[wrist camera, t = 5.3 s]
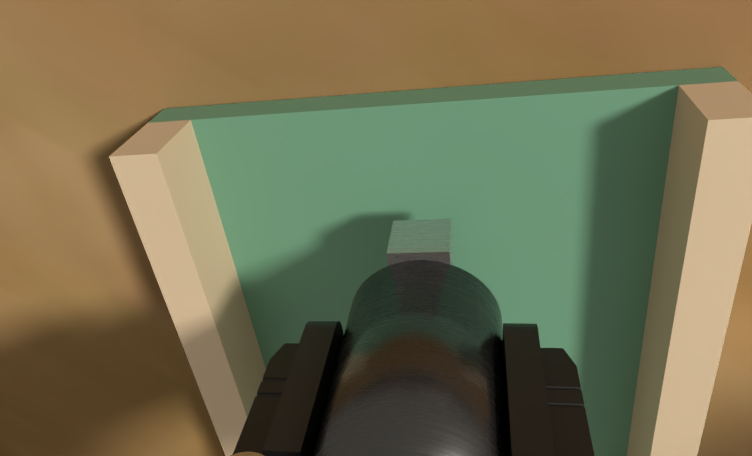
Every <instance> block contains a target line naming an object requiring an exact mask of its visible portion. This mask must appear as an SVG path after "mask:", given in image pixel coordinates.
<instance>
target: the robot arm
mask: <svg viewBox="0 0 752 456" xmlns="http://www.w3.org/2000/svg"><path fill="white" fill-rule="evenodd" d="M343 336H344V334H343V329H342V325H341V322H340V321H308V322H307V323H306V325H305V328H304V331H303V334H302V336H301V339H300V342H299V343H285V344H284V345H283V346H282V347H281V348H280V349H279V350H278V351H277V352H276V353H275V354H274V355H273V356H272V358H271V359H270V360H269V363H268V365H267V368H266V371H265V373H264V376H263V381H261V383H260V386H259V388H258V391H257V396H255V399H254V401H253V404H252V406H251V409H250V411H249V414H248V417H247V419H246V422H245V424H244V427H243V429H242V432H241V435H240V437H239V440H238V442H237V445H236V447H235V450H234V452H233V454H232V455H230V456H312V455H313V451H314V447H315V443H316V439H317V435H318V432H319V428H320V424H321V420H322V416H323V412H324V409H325V405H326V401H327V397H328V393H329V389H330V386H331V382H332V378H333V374H334V370H335V366H336V363H337V359H338V355H339V351H340V347H341V343H342V340H343ZM503 354H504V371H505V387H506V404H507V421H508V437H509V454H510V456H594V451H593V445H592V440H591V435H590V430H589V425H588V420H587V415H586V410H585V407H584V400H583V395H582V390H581V385H580V380H579V375H578V370H577V366H576V364H575V363H574V362H573V361H572V359H571V358H570V357H569V355H568V354H567V353H566V351H565V350H564V349H563V348H540V340H539V333H538V326H537V324H527V323H503Z"/></svg>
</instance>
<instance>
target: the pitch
mask: <svg viewBox="0 0 752 456" xmlns="http://www.w3.org/2000/svg"><path fill="white" fill-rule="evenodd" d="M109 158H110V161H111V163H112V166H113V169H114V171H115V174H116V176H117V179H118V181H119V184H120V187H121V189H122V192H123V194H124V197H125V199H126V202H127V205H128V207H129V210H130V212H131V215H132V217H133V220H134V223H135V225H136V228H137V230H138V233H139V235H140V238H141V240H142V243H143V246H144V248H145V251H146V253H147V256H148V258H149V261H150V264H151V266H152V269H153V271H154V274H155V276H156V279H157V282H158V284H159V287H160V289H161V292H162V294H163V297H164V300H165V302H166V305H167V307H168V310H169V312H170V315H171V318H172V320H173V323H174V325H175V328H176V330H177V333H178V335H179V338H180V341H181V343H182V346H183V348H184V351H185V353H186V356H187V359H188V361H189V364H190V366H191V369H192V371H193V374H194V377H195V379H196V382H197V384H198V387H199V389H200V392H201V395H202V397H203V400H204V402H205V405H206V407H207V410H208V413H209V415H210V418H211V420H212V423H213V425H214V428H215V430H216V433H217V436H218V438H219V441H220V443H221V446H222V448H223V451H224V454H225V456H230V455H232V454H233V452H234V450H235V447H236V445H237V442H238V440H239V437H240V435H241V432H242V429H243V427H244V424H245V422H246V419H247V417H248V414H249V411H250V409H251V406H252V404H253V401H254V399H255V396H257V391H258V388H259V386H260V383H261V381H263V376H264V373H265V371H266V368H267V365H268V363H269V360H270V359H271V358H272V356H273V355H274V354H275V353H276V352H277V351H278V350H279V349H280V348H281V347H282V346H283V345H284V344H285V343H299V342H300V339H301V336H302V334H303V331H304V328H305V325H306V323H307V322H308V321H340V322H341V325H342V329H343V334H344V332H345V328H346V324H347V320H348V317H349V313H350V309H351V305H352V301H353V298H354V296H355V294H356V292H357V290H358V289H359V287H360V286H361V285H362V284H363V282H364V281H365V280H366V279H367V278H369V277H370V276H371V275H372V274H374V273H375V272H377V271H379V270H380V269H383V268H385V267H387V266H388V261H387V249H388V244H389V239H390V234H391V230H392V225H393V221H398V220H426V219H451V221H452V236H453V250H454V265H455V266H456V267H459V268H461V269H463V270H465V271H467V272H469V273H470V274H472V275H473V276H475V277H477V278H478V279H479V280H480V281H481V282H483V283H484V284H485V285H486V286H487V287H488V289H489V290H490V291H491V292H492V294H493V295H494V297H495V298H496V300H497V303H498V305H499V308H500V311H501V317H502V329H503V323H527V324H537V326H538V333H539V340H540V348H563V349H564V350H565V351H566V353H567V354H568V355H569V357H570V358H571V359H572V361H573V362H574V363H575V364H576V366H577V370H578V375H579V380H580V385H581V390H582V395H583V400H584V407H585V410H586V415H587V420H588V425H589V430H590V435H591V440H592V445H593V451H594V456H697V454H698V450H699V446H700V442H701V437H702V433H703V429H704V424H705V420H706V416H707V412H708V407H709V403H710V399H711V395H712V390H713V386H714V382H715V377H716V373H717V369H718V365H719V360H720V356H721V352H722V348H723V343H724V339H725V335H726V331H727V326H728V322H729V318H730V313H731V309H732V305H733V301H734V296H735V292H736V288H737V284H738V279H739V275H740V271H741V266H742V262H743V258H744V254H745V249H746V245H747V241H748V237H749V232H750V228H751V224H752V93H751V92H750V91H749V90H747V89H746V88H745V87H744V86H743V85H742V84H741V83H740V82H739V81H738V80H736V79H735V78H734V77H733V76H732V75H731V74H730V73H729V72H728V71H726V70H725V69H724V68H723V67H712V68H698V69H685V70H672V71H659V72H645V73H632V74H619V75H605V76H592V77H579V78H565V79H552V80H539V81H525V82H512V83H499V84H485V85H472V86H459V87H445V88H432V89H419V90H405V91H392V92H379V93H365V94H352V95H339V96H326V97H312V98H299V99H286V100H272V101H259V102H246V103H232V104H219V105H206V106H192V107H179V108H166V109H163V110H162V111H161V112H160V113H158V114H157V115H156V116H155V117H154V118H153V119H152V120H150V121H149V122H148V123H147V124H146V125H145V126H143V127H142V128H141V129H140V130H139V131H138V132H137V133H135V134H134V135H133V136H132V137H131V138H130V139H128V140H127V141H126V142H125V143H124V144H123V145H122V146H120V147H119V148H118V149H117V150H116V151H115V152H114V153H112V154H111V155H110V156H109Z"/></svg>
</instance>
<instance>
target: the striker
mask: <svg viewBox="0 0 752 456" xmlns="http://www.w3.org/2000/svg"><path fill="white" fill-rule="evenodd" d="M387 261H388V266H387V267H385V268H383V269H380V270H379V271H377V272H375V273H374V274H372V275H371V276H370V277H369V278H367V279H366V280H365V281H364V282H363V284H362V285H361V286H360V287H359V289H358V290H357V292H356V294H355V296H354V298H353V301H352V305H351V309H350V313H349V317H348V320H347V324H346V328H345V332H344V336H343V340H342V343H341V347H340V351H339V355H338V359H337V363H336V366H335V370H334V374H333V378H332V382H331V386H330V389H329V393H328V397H327V401H326V405H325V409H324V412H323V416H322V420H321V424H320V428H319V432H318V435H317V439H316V443H315V447H314V451H313V455H312V456H510V454H509V437H508V421H507V404H506V387H505V371H504V354H503V329H502V317H501V311H500V308H499V305H498V303H497V300H496V298H495V297H494V295H493V294H492V292H491V291H490V290H489V289H488V287H487V286H486V285H485V284H484V283H483V282H481V281H480V280H479V279H478V278H477V277H475V276H473V275H472V274H470V273H469V272H467V271H465V270H463V269H461V268H459V267H456V266H455V265H454V250H453V236H452V221H451V219H426V220H398V221H393V225H392V230H391V234H390V239H389V244H388V249H387Z"/></svg>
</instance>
